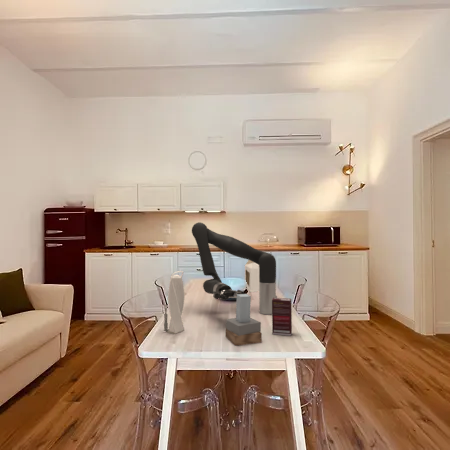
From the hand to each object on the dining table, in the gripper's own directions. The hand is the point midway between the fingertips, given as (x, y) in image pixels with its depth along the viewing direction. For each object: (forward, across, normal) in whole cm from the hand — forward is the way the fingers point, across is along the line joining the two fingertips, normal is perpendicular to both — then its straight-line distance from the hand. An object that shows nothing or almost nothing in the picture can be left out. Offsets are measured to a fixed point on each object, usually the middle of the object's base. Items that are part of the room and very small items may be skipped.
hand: (233, 297), depth 157 cm
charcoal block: (+11, 0, +12) cm, 16 cm away
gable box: (-89, +52, +16) cm, 105 cm away
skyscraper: (-10, -25, +16) cm, 32 cm away
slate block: (+11, 0, +8) cm, 13 cm away
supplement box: (+10, +20, +16) cm, 27 cm away
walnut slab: (+11, 0, +16) cm, 20 cm away
